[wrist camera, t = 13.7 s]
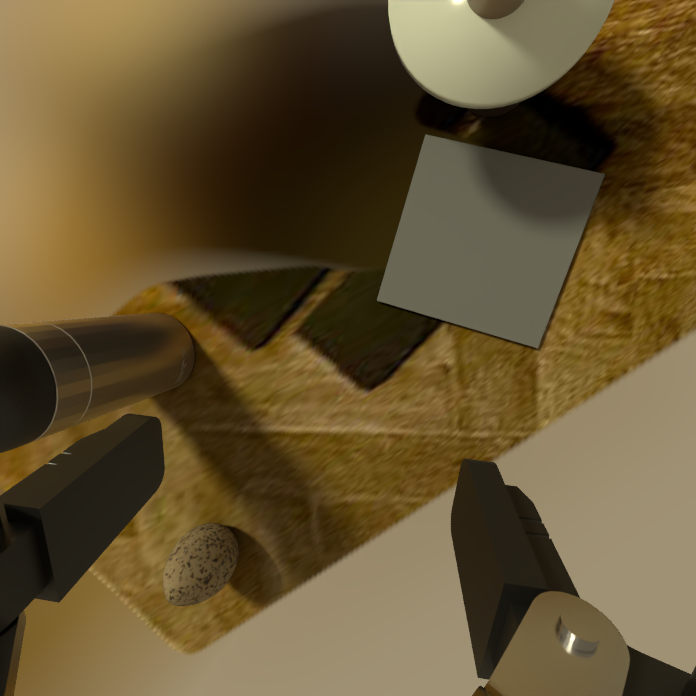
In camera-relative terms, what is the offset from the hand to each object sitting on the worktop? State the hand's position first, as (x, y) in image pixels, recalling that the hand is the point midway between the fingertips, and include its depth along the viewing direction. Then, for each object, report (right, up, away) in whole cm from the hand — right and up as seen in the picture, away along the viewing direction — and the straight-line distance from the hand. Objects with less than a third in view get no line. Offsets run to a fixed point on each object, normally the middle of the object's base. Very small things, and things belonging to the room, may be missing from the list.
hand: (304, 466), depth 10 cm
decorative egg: (-14, -20, +38) cm, 45 cm away
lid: (+11, +26, +15) cm, 32 cm away
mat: (+14, +13, +27) cm, 33 cm away
